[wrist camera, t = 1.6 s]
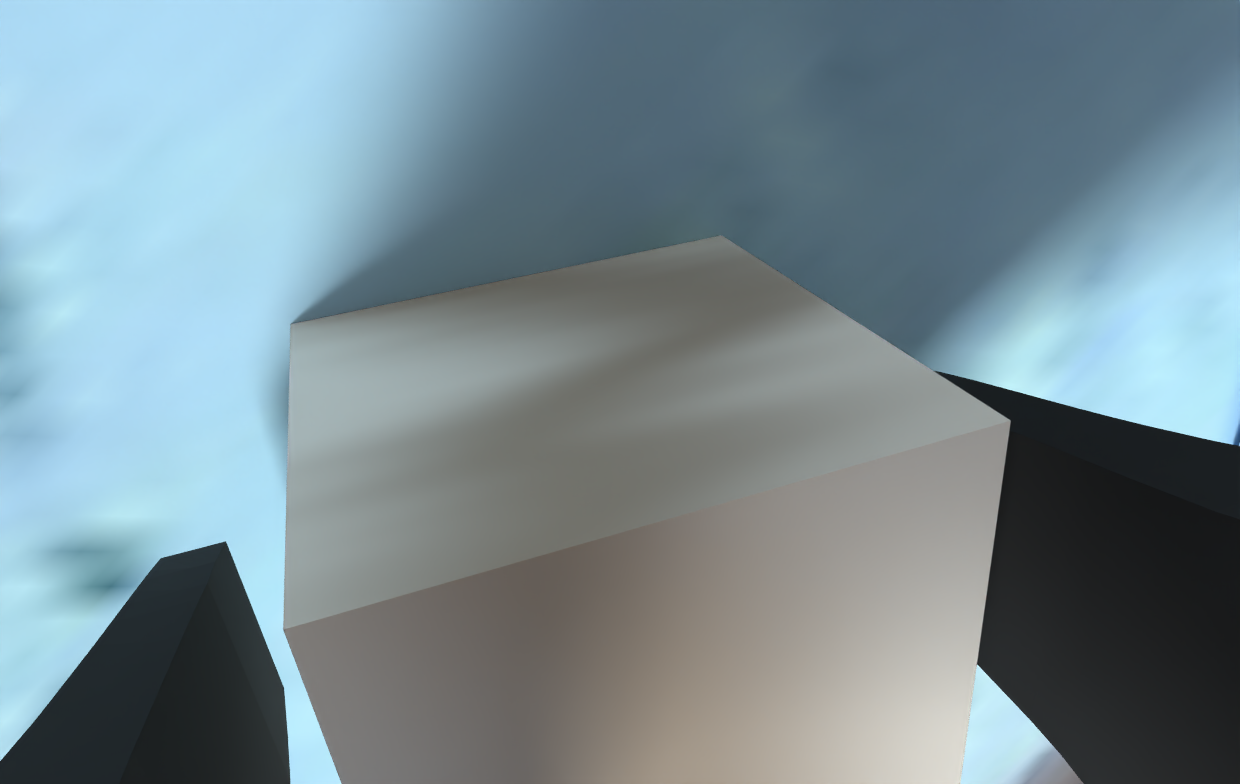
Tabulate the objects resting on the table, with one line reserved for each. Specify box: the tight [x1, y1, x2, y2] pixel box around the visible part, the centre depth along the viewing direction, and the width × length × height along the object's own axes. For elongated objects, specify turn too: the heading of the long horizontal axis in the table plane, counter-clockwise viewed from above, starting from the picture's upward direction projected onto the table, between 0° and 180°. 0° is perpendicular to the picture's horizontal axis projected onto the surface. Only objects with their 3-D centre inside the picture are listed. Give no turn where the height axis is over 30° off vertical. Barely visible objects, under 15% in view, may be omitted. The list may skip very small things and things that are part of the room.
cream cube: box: [283, 235, 1011, 784], centre depth 9 cm, size 5×5×5 cm
